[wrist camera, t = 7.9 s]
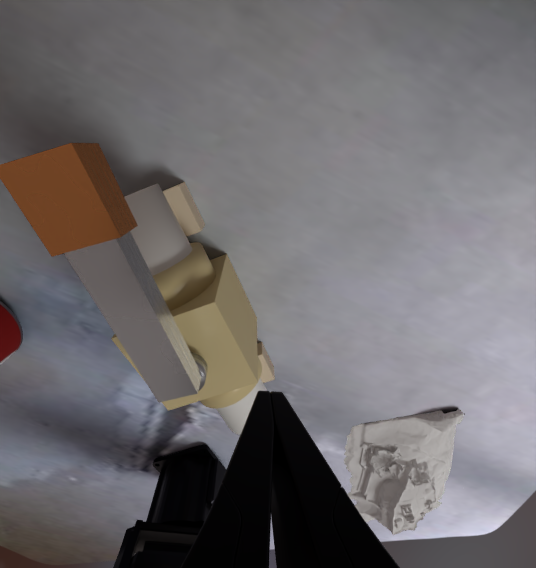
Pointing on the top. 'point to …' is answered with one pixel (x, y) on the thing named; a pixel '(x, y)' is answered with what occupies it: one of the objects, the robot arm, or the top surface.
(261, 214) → the top surface
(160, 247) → the valve pipe
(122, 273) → the lever
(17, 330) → the soda can
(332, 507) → the robot arm
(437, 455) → the grey stone relief
